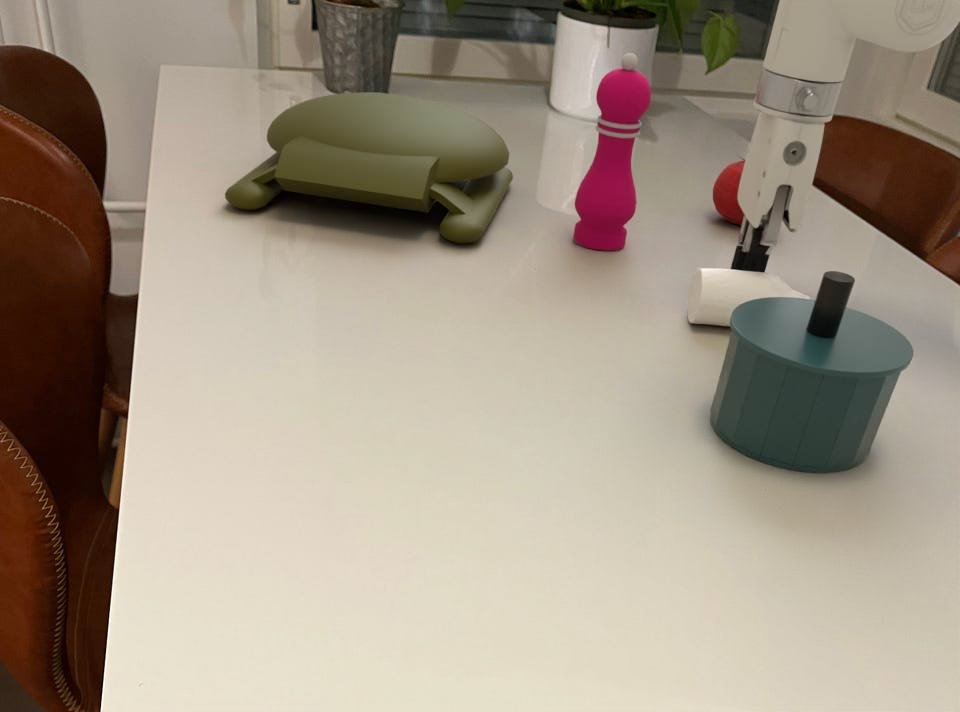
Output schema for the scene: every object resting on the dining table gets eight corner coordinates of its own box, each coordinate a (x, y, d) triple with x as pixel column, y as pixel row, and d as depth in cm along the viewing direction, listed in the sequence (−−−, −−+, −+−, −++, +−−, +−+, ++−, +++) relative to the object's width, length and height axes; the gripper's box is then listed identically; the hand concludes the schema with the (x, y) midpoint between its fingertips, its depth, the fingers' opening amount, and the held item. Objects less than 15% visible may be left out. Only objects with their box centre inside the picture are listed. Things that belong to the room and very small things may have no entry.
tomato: (700, 224, 128) (716, 158, 123) (712, 206, 135) (727, 143, 130) (767, 238, 126) (786, 171, 121) (776, 219, 133) (794, 156, 128)
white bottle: (807, 344, 101) (825, 290, 97) (691, 332, 100) (705, 277, 96) (795, 321, 105) (811, 268, 102) (684, 309, 105) (696, 256, 101)
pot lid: (877, 318, 86) (901, 253, 82) (934, 394, 75) (964, 323, 71) (713, 302, 85) (730, 235, 82) (746, 376, 74) (767, 303, 71)
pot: (843, 402, 91) (876, 313, 85) (888, 479, 80) (928, 383, 75) (698, 389, 90) (722, 297, 85) (725, 464, 80) (753, 366, 74)
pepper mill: (619, 233, 122) (652, 48, 109) (635, 253, 117) (673, 62, 104) (563, 230, 121) (590, 43, 108) (577, 251, 116) (607, 57, 103)
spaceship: (478, 251, 112) (486, 159, 106) (218, 210, 114) (212, 118, 108) (520, 171, 139) (529, 94, 133) (309, 140, 141) (308, 62, 135)
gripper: (856, 119, 87) (792, 319, 99) (816, 83, 99) (763, 266, 110) (773, 109, 87) (719, 311, 99) (743, 74, 98) (697, 259, 110)
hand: (742, 287), depth 105 cm, fingers closed
